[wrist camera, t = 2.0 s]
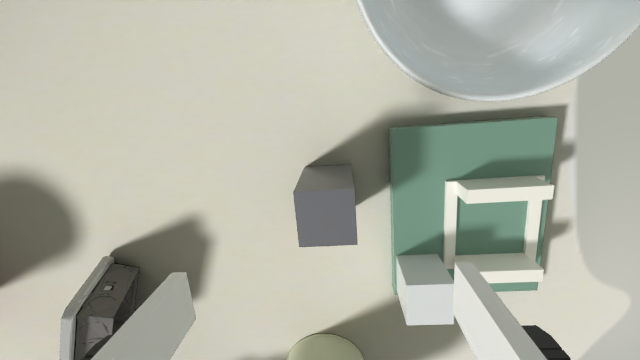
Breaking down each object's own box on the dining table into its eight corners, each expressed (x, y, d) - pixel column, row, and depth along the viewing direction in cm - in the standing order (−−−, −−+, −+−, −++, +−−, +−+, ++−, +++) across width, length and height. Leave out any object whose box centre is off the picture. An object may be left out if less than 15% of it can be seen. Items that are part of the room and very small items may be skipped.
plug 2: (396, 255, 31) (406, 285, 26) (437, 253, 31) (455, 283, 26) (396, 290, 32) (406, 325, 28) (436, 289, 32) (453, 324, 27)
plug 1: (304, 166, 31) (293, 192, 23) (350, 164, 31) (354, 188, 23) (309, 212, 32) (299, 250, 25) (353, 210, 32) (357, 248, 24)
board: (389, 127, 29) (397, 134, 25) (546, 116, 28) (584, 120, 24) (392, 286, 34) (400, 314, 30) (528, 281, 33) (557, 310, 29)
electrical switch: (107, 251, 35) (39, 309, 26) (155, 261, 36) (104, 321, 27) (101, 318, 38) (37, 392, 29) (146, 327, 38) (97, 401, 29)
